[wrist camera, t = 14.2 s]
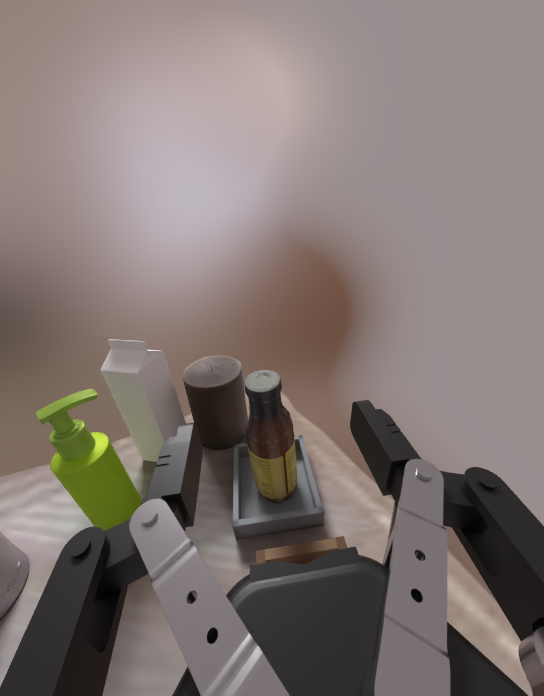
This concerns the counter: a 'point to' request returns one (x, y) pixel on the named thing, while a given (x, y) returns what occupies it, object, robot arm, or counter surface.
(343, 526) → the counter surface
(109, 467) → the soap dispenser
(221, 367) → the pillar candle
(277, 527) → the tray
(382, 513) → the counter surface
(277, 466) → the sauce bottle
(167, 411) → the milk
